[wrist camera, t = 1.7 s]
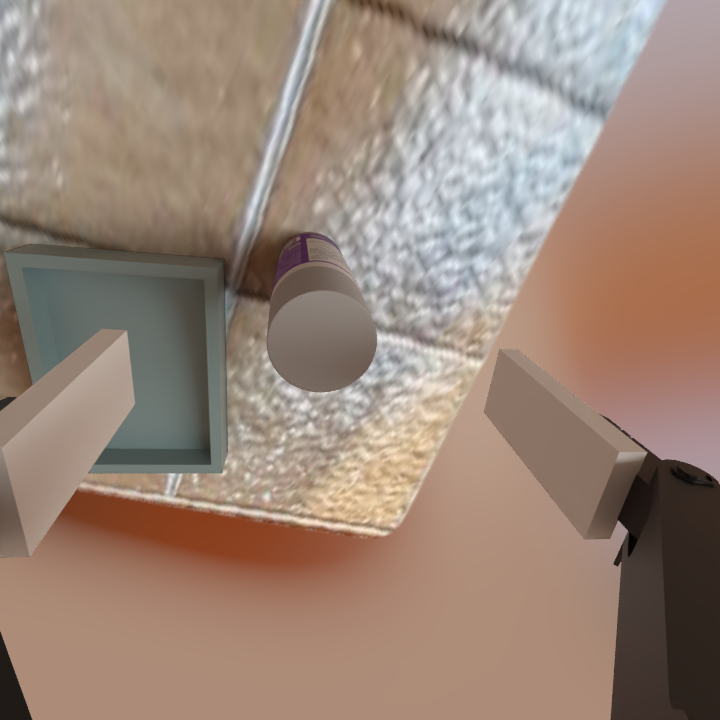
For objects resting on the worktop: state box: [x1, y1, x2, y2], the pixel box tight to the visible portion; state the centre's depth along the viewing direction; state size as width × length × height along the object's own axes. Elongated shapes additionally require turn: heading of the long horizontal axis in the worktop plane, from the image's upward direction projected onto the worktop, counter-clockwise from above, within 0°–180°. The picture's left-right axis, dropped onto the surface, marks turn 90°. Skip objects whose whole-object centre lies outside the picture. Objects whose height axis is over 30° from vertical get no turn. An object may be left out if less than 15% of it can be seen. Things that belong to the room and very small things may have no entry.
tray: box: [3, 244, 228, 473], centre depth 31 cm, size 16×12×3 cm
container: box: [267, 232, 377, 392], centre depth 24 cm, size 5×5×15 cm
